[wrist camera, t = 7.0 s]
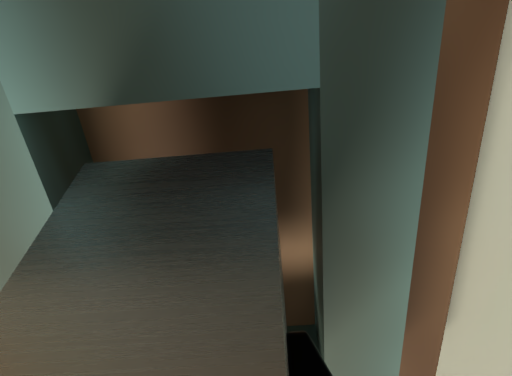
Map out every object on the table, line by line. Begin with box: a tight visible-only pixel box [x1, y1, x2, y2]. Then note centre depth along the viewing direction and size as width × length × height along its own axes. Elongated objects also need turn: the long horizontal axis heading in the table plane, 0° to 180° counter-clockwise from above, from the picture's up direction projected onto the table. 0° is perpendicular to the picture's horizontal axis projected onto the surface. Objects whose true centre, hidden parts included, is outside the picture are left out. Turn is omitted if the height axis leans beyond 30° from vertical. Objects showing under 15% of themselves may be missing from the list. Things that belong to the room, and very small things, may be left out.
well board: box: [0, 0, 509, 376], centre depth 12 cm, size 14×16×4 cm
